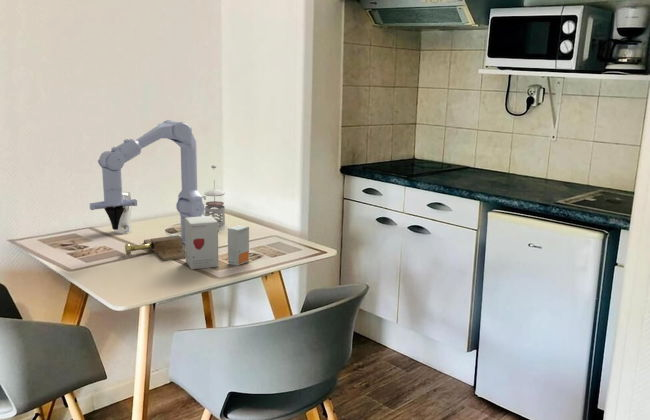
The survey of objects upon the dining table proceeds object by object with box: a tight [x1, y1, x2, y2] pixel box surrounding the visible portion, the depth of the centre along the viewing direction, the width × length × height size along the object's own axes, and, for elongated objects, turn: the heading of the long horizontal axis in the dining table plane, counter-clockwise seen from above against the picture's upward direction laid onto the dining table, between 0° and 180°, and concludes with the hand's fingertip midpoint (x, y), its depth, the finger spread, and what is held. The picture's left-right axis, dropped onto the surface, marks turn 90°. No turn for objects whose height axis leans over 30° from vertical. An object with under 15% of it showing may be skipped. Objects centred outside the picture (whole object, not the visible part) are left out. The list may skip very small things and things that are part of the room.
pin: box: [124, 243, 154, 255], centre depth 201 cm, size 10×4×4 cm, turn 121°
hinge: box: [143, 234, 186, 262], centre depth 205 cm, size 10×24×4 cm, turn 31°
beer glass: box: [114, 191, 133, 235], centre depth 225 cm, size 7×7×15 cm
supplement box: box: [184, 215, 220, 270], centre depth 189 cm, size 9×9×15 cm
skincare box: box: [227, 224, 250, 267], centre depth 192 cm, size 6×4×12 cm
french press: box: [202, 164, 228, 231], centre depth 234 cm, size 10×12×25 cm
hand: (115, 229), depth 195 cm, fingers closed
